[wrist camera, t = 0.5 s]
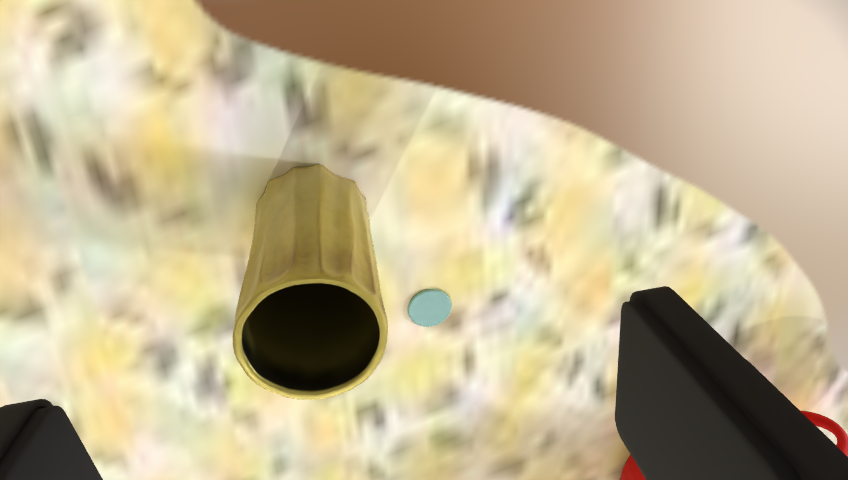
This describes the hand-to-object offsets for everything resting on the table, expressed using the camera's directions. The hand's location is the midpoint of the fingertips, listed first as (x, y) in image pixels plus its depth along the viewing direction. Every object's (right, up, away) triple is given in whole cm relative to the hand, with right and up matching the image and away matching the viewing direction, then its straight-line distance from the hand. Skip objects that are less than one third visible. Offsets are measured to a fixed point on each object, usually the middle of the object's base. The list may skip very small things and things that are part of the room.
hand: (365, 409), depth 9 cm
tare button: (+1, -1, +24) cm, 24 cm away
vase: (-5, +6, +22) cm, 24 cm away
